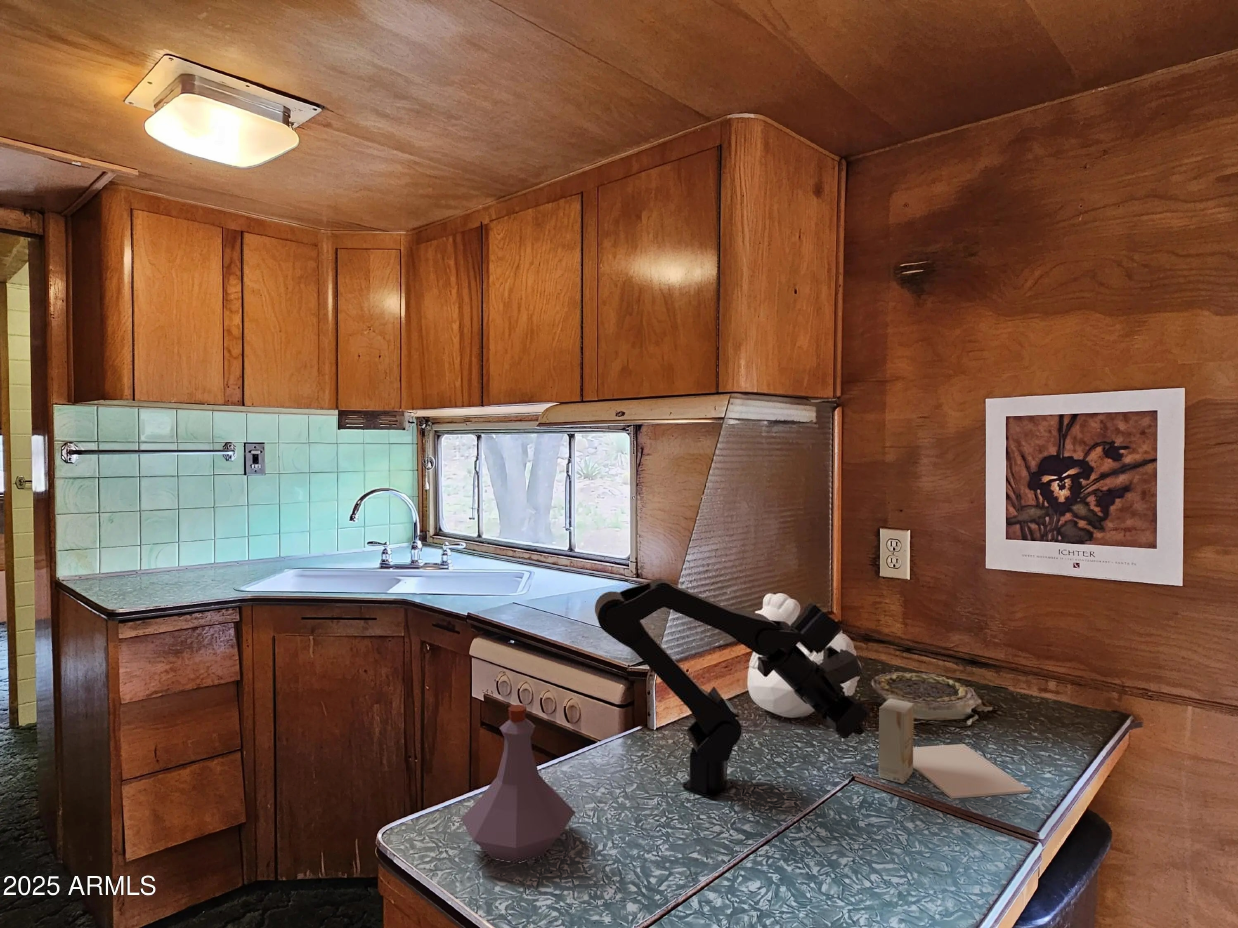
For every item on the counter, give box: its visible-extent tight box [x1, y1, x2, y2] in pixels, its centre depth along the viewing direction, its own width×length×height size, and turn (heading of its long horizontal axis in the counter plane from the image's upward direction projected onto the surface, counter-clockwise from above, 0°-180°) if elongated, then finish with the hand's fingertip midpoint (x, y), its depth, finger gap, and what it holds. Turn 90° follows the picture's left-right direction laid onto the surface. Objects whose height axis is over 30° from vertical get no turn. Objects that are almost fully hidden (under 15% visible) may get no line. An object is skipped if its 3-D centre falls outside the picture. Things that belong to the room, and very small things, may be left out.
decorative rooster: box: [747, 592, 862, 719], centre depth 150 cm, size 25×16×25 cm, turn 31°
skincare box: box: [878, 699, 915, 784], centre depth 124 cm, size 6×4×12 cm
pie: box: [870, 671, 994, 728], centre depth 158 cm, size 28×27×5 cm
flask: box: [460, 704, 576, 864], centre depth 103 cm, size 16×16×20 cm
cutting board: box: [913, 743, 1031, 800], centre depth 126 cm, size 14×18×1 cm
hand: (861, 732), depth 123 cm, fingers closed
